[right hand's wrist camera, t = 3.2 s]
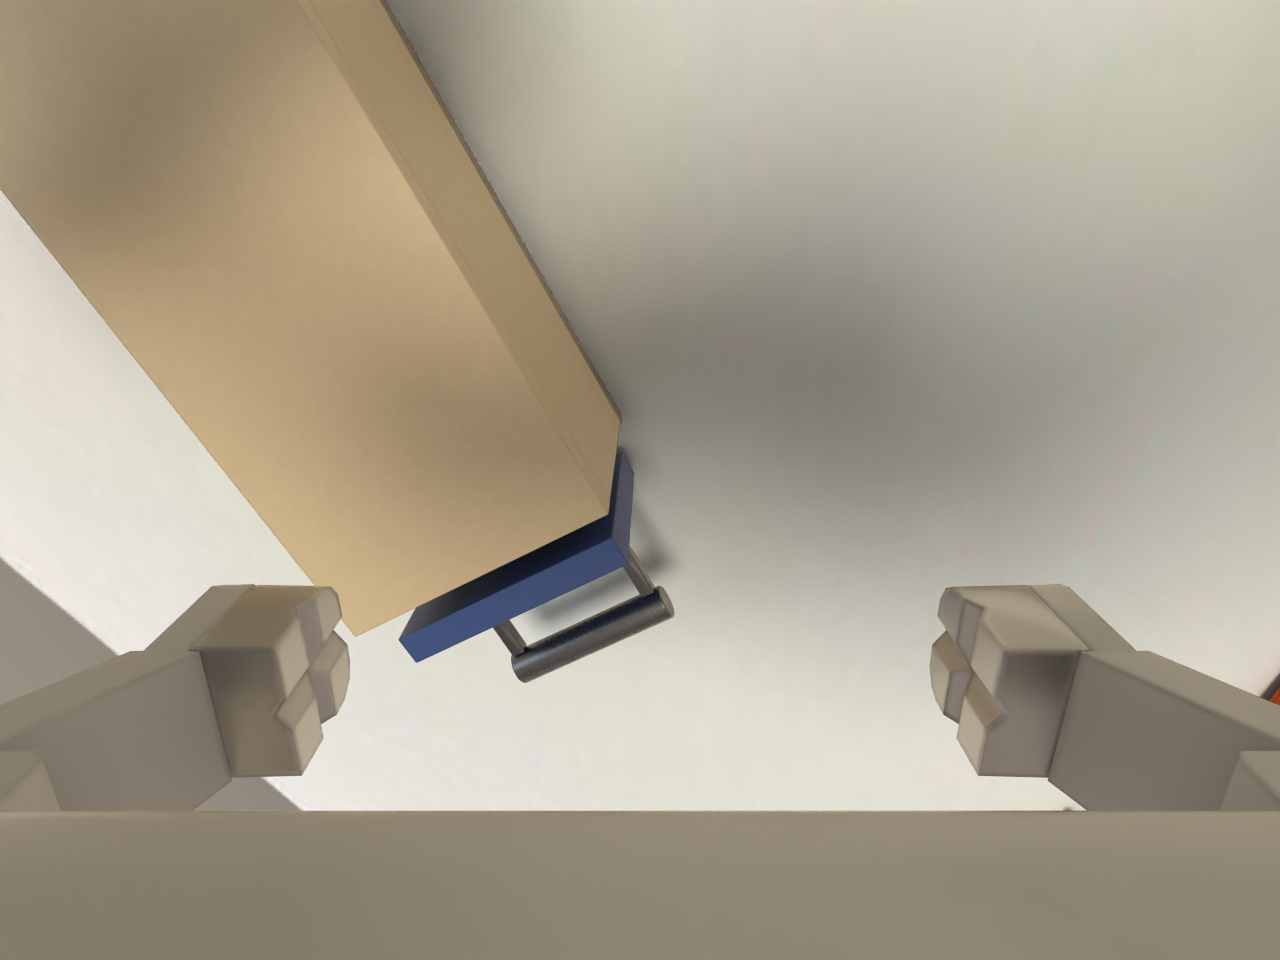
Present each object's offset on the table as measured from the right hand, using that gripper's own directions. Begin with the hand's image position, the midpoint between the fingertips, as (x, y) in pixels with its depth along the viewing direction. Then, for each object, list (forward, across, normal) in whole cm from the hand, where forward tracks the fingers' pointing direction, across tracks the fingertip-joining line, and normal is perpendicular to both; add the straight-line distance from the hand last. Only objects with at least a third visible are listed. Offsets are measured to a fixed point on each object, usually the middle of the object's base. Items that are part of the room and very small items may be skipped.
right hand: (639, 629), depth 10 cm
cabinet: (+25, +10, -2) cm, 27 cm away
